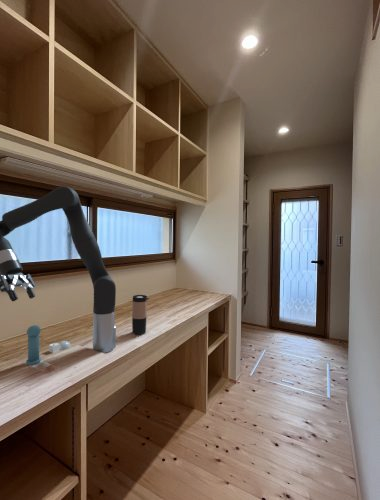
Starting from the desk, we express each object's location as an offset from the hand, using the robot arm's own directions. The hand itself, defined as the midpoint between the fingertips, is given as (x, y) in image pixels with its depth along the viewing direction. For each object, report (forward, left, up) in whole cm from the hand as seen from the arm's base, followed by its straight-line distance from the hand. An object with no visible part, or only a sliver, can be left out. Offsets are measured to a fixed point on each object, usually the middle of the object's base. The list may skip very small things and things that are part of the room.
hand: (24, 299), depth 99 cm
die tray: (-14, +1, -28) cm, 31 cm away
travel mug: (-51, +15, -26) cm, 60 cm away
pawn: (-1, +4, -25) cm, 25 cm away
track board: (-1, +9, -26) cm, 28 cm away
